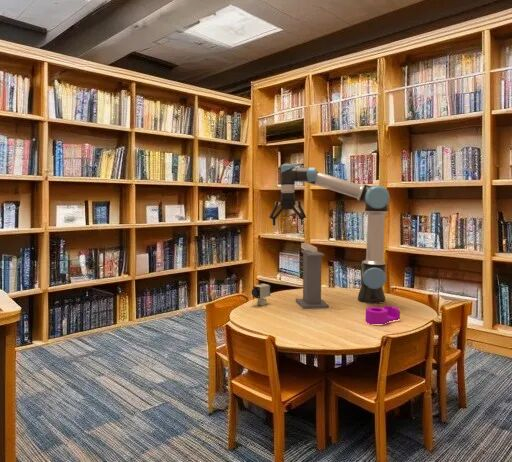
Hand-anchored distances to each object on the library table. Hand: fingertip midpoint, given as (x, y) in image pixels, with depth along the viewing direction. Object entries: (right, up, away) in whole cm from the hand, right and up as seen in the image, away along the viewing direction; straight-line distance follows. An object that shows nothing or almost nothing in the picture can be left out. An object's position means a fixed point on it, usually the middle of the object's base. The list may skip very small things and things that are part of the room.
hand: (287, 231), depth 230 cm
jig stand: (+13, -40, -2) cm, 42 cm away
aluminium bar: (+12, -11, +3) cm, 16 cm away
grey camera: (-15, -41, -2) cm, 43 cm away
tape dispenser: (+42, -43, -32) cm, 68 cm away
